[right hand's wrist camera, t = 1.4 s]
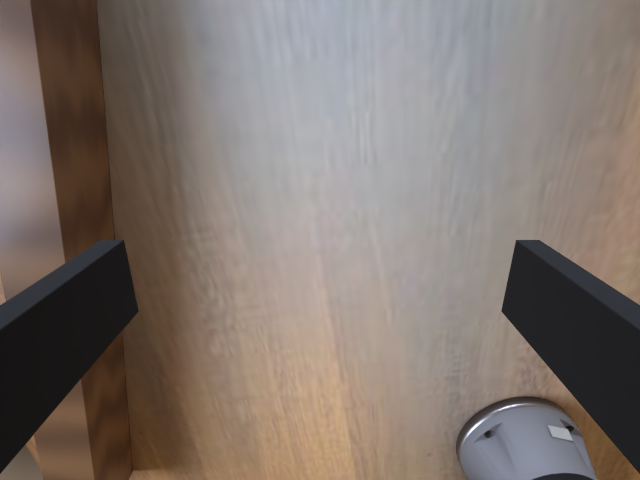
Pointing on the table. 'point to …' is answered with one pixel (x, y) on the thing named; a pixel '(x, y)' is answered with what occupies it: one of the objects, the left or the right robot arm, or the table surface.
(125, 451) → the beam
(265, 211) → the table surface
